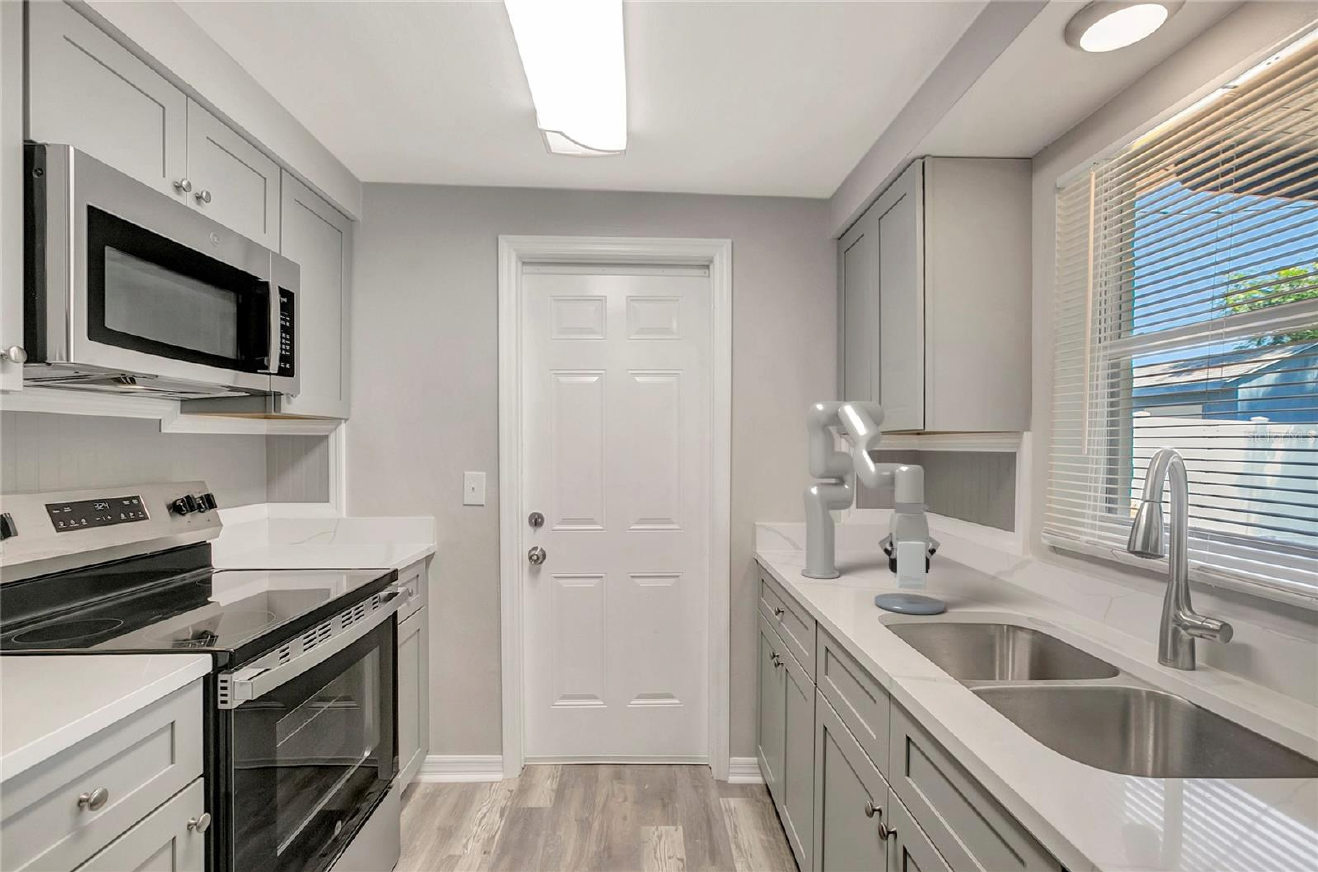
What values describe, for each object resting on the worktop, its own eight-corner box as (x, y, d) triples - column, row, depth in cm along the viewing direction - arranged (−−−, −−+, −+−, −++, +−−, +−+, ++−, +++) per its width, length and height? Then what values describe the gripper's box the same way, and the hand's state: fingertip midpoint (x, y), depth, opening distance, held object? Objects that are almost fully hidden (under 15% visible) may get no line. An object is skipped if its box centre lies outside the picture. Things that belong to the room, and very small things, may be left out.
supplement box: (926, 590, 169) (926, 543, 169) (897, 588, 170) (897, 542, 171) (920, 584, 176) (920, 539, 176) (892, 583, 178) (892, 538, 178)
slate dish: (865, 598, 182) (865, 593, 182) (927, 598, 182) (927, 593, 182) (888, 615, 164) (888, 609, 164) (956, 615, 164) (956, 609, 164)
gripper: (934, 508, 178) (934, 569, 177) (873, 507, 178) (873, 569, 177) (946, 510, 170) (946, 575, 170) (882, 510, 170) (882, 574, 170)
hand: (909, 571), depth 173 cm, fingers closed on supplement box, 8 cm apart
